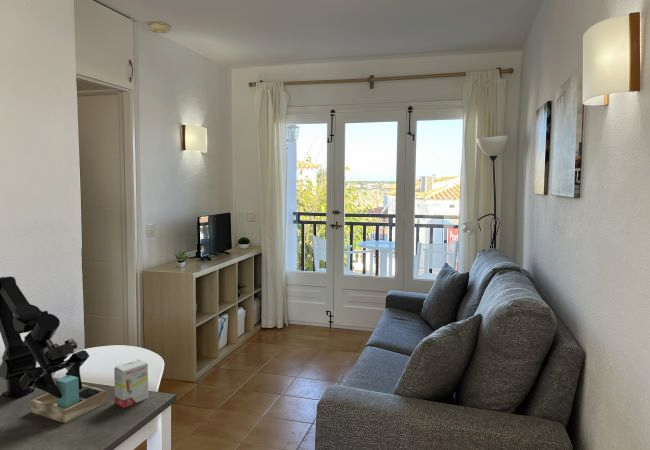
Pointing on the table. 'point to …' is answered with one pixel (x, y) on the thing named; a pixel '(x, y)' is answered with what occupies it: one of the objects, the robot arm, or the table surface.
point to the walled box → (87, 402)
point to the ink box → (131, 383)
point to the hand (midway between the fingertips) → (71, 393)
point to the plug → (68, 391)
